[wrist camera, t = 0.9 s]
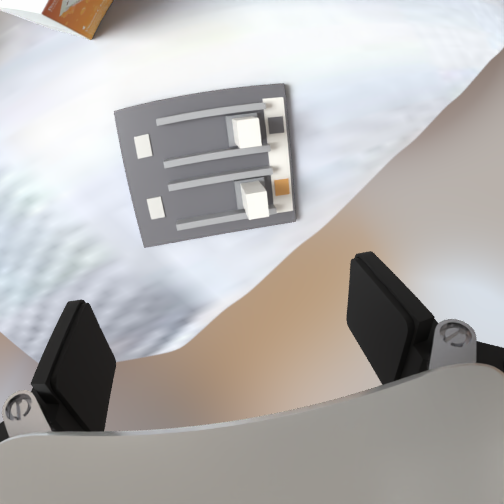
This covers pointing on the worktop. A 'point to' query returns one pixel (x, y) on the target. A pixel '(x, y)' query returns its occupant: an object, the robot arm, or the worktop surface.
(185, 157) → the switch unit
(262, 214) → the switch
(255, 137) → the switch
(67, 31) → the small box
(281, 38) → the worktop surface
